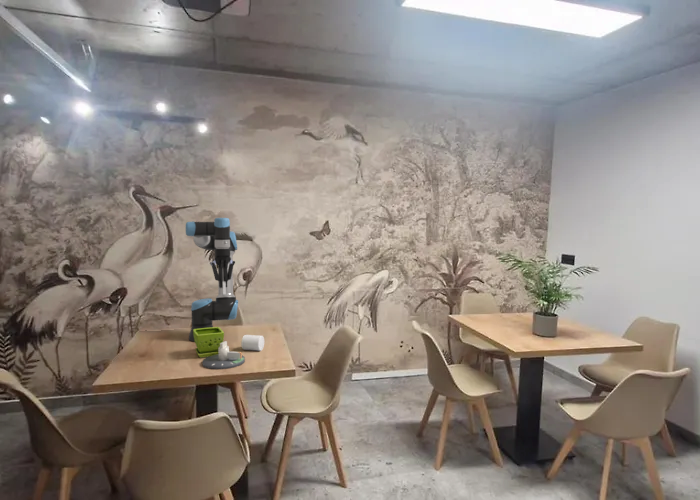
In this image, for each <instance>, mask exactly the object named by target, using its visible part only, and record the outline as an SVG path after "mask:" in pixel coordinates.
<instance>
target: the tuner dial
mask: <svg viewBox="0 0 700 500" xmlns="http://www.w3.org/2000/svg"><path fill="white" fill-rule="evenodd" d="M245 358H246V357H245V355H242V358H241V359H235V358H229V359H228V360H225V361H220V360H219V354H217V355H213V356H209V357H204V358H203V360H202V367H204V368H206V369H210V370H226V369H232V368H237V367H240V366H242V365H243V364H244V363H245V362H246V361H245V360H246V359H245Z"/></svg>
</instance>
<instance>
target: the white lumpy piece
mask: <svg viewBox="0 0 700 500" xmlns="http://www.w3.org/2000/svg"><path fill="white" fill-rule="evenodd" d="M218 353H219V360H220V361H225V360H228V359H229V358H235V359H241V358H242V352H241V351H230V346H229V345H228V341H227V340H223V342H222V343H220V347H218Z"/></svg>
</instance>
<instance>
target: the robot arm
mask: <svg viewBox="0 0 700 500" xmlns="http://www.w3.org/2000/svg"><path fill="white" fill-rule="evenodd" d="M230 225H231V222H230V218H228V217H215V218H214V221H187V222H185V235H186V236H187V237H192V239H193V243H194V244H195V246H197V247H198V248H201V249H203V250H206V251H214V260H213V261H210V262H209V264H210V266H211V268H212V272H213V277H214V279H215V281H218V282H217V288H218V289H217V290H218V292H217V293H218V295H217V296H216V297H215V300H213V299H212V298H208V297H207V298H202V299H197V300H194V301H193V302H192V303H191V309H190V311H191V328H190V332H189V334H188V340H189V341H190V342H194V343H195V340H194V335H193V329H200V328H211V327H214V326H213V321H231V320H235V319H236V318H237V317H238V316H237V315H238V306H239V300H238V299H237V297H236V295H235V294H234V276H233V275H234V273H233V271H234V265H235V264H236V261H235V260H233V259H234V257H233V255H234V254H236V251H237V250H238V243H237V236H236V233H235V231H231V226H230ZM198 335H199V334H198Z"/></svg>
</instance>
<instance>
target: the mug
mask: <svg viewBox="0 0 700 500" xmlns="http://www.w3.org/2000/svg"><path fill="white" fill-rule="evenodd" d="M240 342H241V344H240V345H241V348H242V350H245V351H258V352H262V351H263V349H264V346H265V337H264V335H258V334H257V335H253V334H244V335H243V336H242V338H241V341H240Z"/></svg>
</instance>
